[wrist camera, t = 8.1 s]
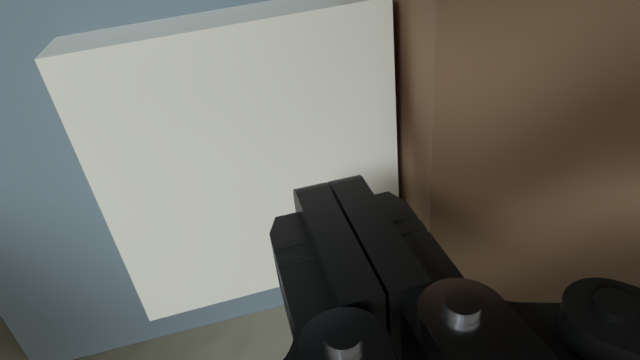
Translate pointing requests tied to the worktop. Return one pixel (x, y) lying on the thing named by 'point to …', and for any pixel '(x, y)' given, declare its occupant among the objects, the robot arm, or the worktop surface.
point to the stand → (522, 138)
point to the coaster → (223, 132)
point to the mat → (71, 200)
